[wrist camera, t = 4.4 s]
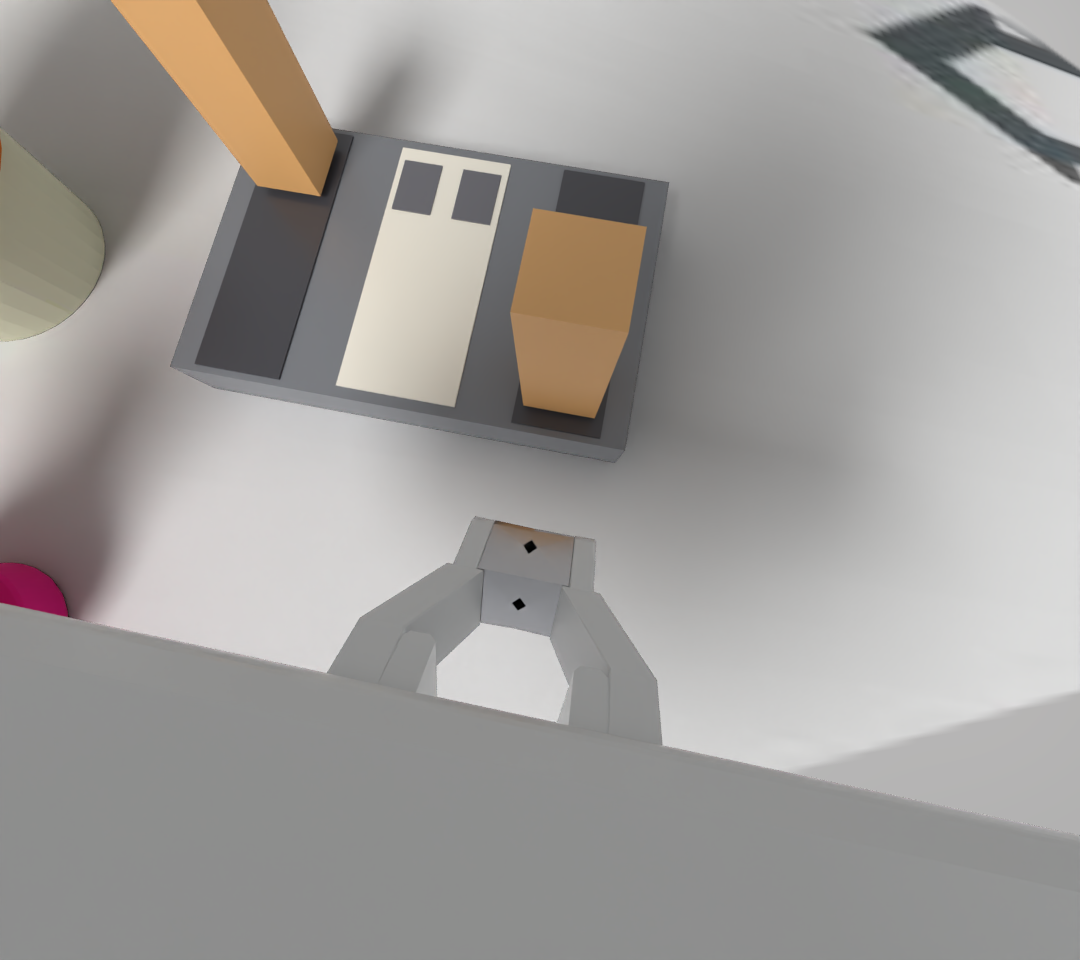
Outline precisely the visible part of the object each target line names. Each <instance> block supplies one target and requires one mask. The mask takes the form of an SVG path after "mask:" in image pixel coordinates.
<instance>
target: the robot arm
mask: <svg viewBox="0 0 1080 960" xmlns="http://www.w3.org/2000/svg"><path fill="white" fill-rule="evenodd" d="M595 554H596V541H595V540H594V539H588V538H583V537H577V536H575V537H574V536H570V535H565V534H560V533H554V532H549V531H544V530H538V529H533V528H528V527H523V526H519V525H514V524H510V523H505V522H501V521H494V520H489V519H485V518H480V517H476V516H475V518H474V519H473V520H472V521H471V524H470V526H469V528H468V531H467V533H466V535H465V538H464V540H463V542H462V545H461V547H460V549H459V552H458V554H457V556H456V559H455V561H454V563H453V564H450V563H446V564H445V565H443V566H441V567H440V568H438V569H437V570H435V571H434V572H432V573H430V574H429V575H427V576H426V577H424V578H422V579H421V580H419V581H418V582H416V583H414V584H413V585H411V586H410V587H408V588H406V589H405V590H403V591H402V592H400V593H398V594H397V595H395V596H394V597H392V598H391V599H389V600H387V601H386V602H384V603H383V604H381V605H379V606H378V607H376V608H375V609H373V610H371V611H370V612H368V613H367V614H365V615H363V616H362V617H360V618H359V620H358V622H357V623H356V625H355V627H354V629H353V630H352V632H351V634H350V635H349V637H348V639H347V640H346V642H345V644H344V645H343V647H342V649H341V650H340V652H339V654H338V655H337V657H336V659H335V660H334V662H333V664H332V665H331V667H330V669H329V670H328V672H327V673H323V672H319V671H314V670H310V669H305V668H300V667H296V666H291V665H286V664H282V663H277V662H272V661H268V660H263V659H259V658H254V657H249V656H245V655H240V654H235V653H231V652H226V651H221V650H217V649H212V648H208V647H203V646H198V645H194V644H189V643H184V642H180V641H175V640H171V639H166V638H161V637H157V636H152V635H147V634H143V633H138V632H134V631H129V630H124V629H120V628H115V627H110V626H106V625H101V624H97V623H92V622H87V621H83V620H78V619H74V618H69V617H64V616H60V615H55V614H50V613H46V612H41V611H37V610H32V609H27V608H23V607H18V606H13V605H9V604H4V603H0V960H1080V835H1076V834H1072V833H1067V832H1063V831H1058V830H1053V829H1049V828H1044V827H1039V826H1035V825H1030V824H1025V823H1020V822H1016V821H1011V820H1007V819H1002V818H997V817H993V816H988V815H983V814H979V813H974V812H969V811H965V810H960V809H955V808H951V807H946V806H942V805H937V804H932V803H928V802H923V801H918V800H913V799H909V798H904V797H900V796H895V795H891V794H886V793H881V792H877V791H871V790H867V789H862V788H858V787H853V786H849V785H844V784H839V783H835V782H830V781H825V780H821V779H816V778H811V777H807V776H802V775H798V774H793V773H788V772H784V771H779V770H774V769H770V768H765V767H760V766H756V765H751V764H747V763H742V762H737V761H733V760H728V759H723V758H719V757H714V756H709V755H705V754H700V753H695V752H691V751H686V750H682V749H677V748H672V747H668V746H663V745H662V734H661V723H660V711H659V699H658V687H657V680H656V678H655V677H654V675H653V674H652V672H651V671H650V669H649V668H648V666H647V665H646V663H645V662H644V660H643V658H642V657H641V655H640V654H639V652H638V651H637V649H636V648H635V646H634V645H633V643H632V642H631V640H630V639H629V637H628V636H627V634H626V633H625V631H624V630H623V628H622V627H621V625H620V623H619V622H618V620H617V619H616V617H615V616H614V614H613V613H612V611H611V610H610V608H609V607H608V605H607V604H606V602H605V601H604V599H603V598H602V596H601V595H600V594H599V593H595V592H594V575H595ZM480 622H481V623H486V624H492V625H497V626H503V627H509V628H514V629H519V630H523V631H527V632H532V633H536V634H540V635H544V636H549V637H550V640H551V643H552V645H553V648H554V650H555V653H556V655H557V657H558V660H559V662H560V665H561V667H562V670H563V672H564V675H565V677H566V679H567V682H568V684H569V688H568V691H567V694H566V697H565V700H564V703H563V706H562V709H561V712H560V715H559V718H558V721H557V723H556V722H551V721H547V720H542V719H538V718H533V717H528V716H524V715H519V714H514V713H510V712H505V711H500V710H496V709H491V708H486V707H482V706H477V705H472V704H468V703H463V702H458V701H454V700H449V699H444V698H440V697H437V676H436V665H438V664H439V663H440V662H441V661H442V660H443V659H444V658H445V657H446V656H447V655H448V654H449V653H450V652H451V651H452V650H453V649H454V648H456V647H457V646H458V645H459V644H460V643H461V642H462V641H463V640H464V639H465V638H466V637H467V636H468V635H469V634H470V633H471V632H473V631H474V630H475V629H476V628H477V627H478V626H479V625H480ZM515 627H516V628H515Z"/></svg>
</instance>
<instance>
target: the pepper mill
mask: <svg viewBox="0 0 1080 960" xmlns="http://www.w3.org/2000/svg"><path fill="white" fill-rule="evenodd" d="M0 603H4V604H9V605H13V606H18V607H23V608H27V609H32V610H37V611H41V612H46V613H50V614H55V615H60V616H64V617H68V611H67V607H66V603H65V600H64V596H63V594H62V593H61V591H60V590H59V588H58V587H57V585H56V584H55V583H54V581H53V580H52V578H50V577H49V576H47V575H46V574H44V573H43V572H41V571H40V570H38V569H36V568H34V567H31V566H28V565H25V564H19V563H0Z"/></svg>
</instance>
